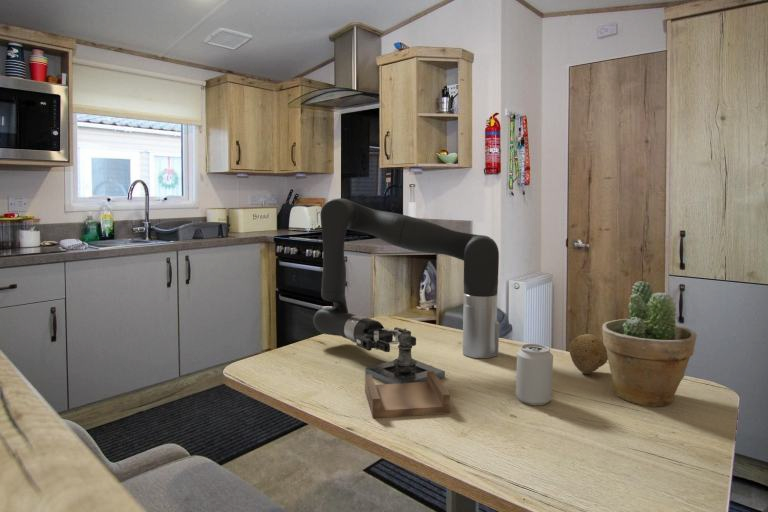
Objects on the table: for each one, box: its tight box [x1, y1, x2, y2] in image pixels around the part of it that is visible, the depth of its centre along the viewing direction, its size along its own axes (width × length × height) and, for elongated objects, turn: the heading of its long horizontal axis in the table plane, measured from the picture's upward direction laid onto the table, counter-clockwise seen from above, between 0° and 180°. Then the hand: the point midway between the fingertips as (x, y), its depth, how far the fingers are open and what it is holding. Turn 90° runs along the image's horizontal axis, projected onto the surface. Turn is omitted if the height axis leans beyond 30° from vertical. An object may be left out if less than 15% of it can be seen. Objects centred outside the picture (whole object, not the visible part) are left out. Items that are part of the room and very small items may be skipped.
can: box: [515, 343, 554, 406], centre depth 112 cm, size 8×8×12 cm
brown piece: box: [364, 371, 451, 419], centre depth 111 cm, size 16×14×4 cm
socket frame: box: [364, 359, 446, 384], centre depth 127 cm, size 14×14×2 cm
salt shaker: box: [392, 328, 418, 378], centre depth 127 cm, size 6×6×12 cm
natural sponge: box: [568, 333, 608, 375], centre depth 129 cm, size 9×9×10 cm
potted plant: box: [601, 281, 698, 408], centre depth 113 cm, size 18×19×25 cm
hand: (402, 344), depth 127 cm, fingers open, 8 cm apart
